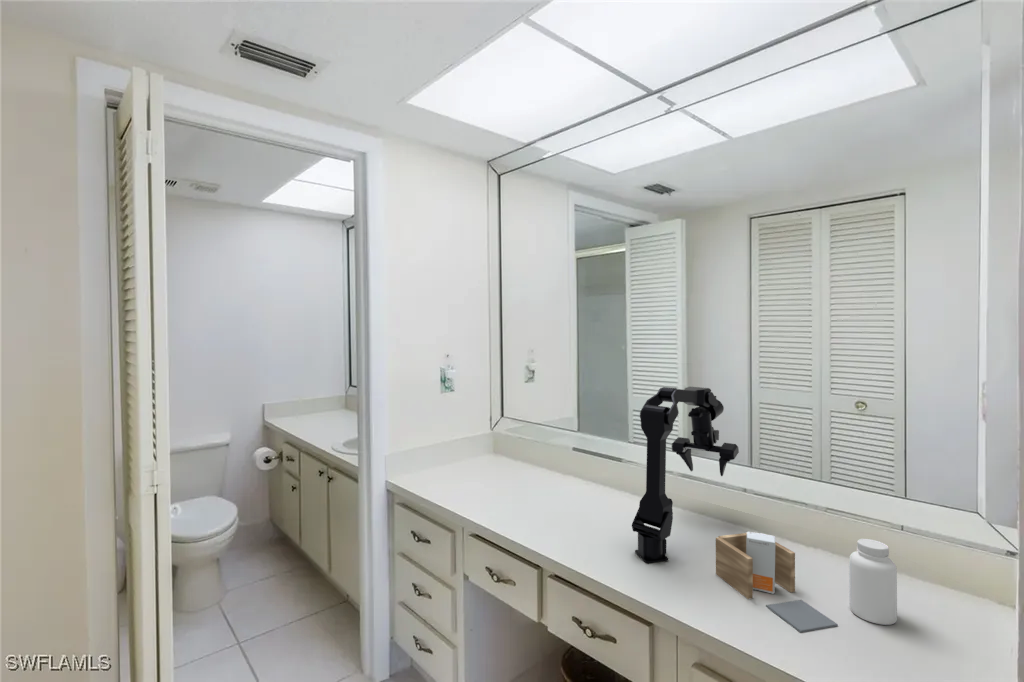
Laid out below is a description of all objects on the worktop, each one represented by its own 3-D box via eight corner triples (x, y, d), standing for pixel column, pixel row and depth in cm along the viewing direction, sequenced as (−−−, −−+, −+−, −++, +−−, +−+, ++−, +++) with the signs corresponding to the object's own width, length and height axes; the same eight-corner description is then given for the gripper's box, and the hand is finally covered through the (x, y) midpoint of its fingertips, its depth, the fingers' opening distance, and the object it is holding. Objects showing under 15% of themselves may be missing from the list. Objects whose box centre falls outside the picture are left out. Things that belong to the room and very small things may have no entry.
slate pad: (800, 632, 93) (800, 630, 93) (766, 606, 102) (766, 605, 102) (837, 626, 95) (837, 624, 95) (801, 601, 104) (801, 599, 104)
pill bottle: (875, 603, 103) (876, 535, 103) (907, 626, 95) (908, 552, 95) (840, 604, 103) (840, 535, 103) (869, 627, 95) (869, 553, 95)
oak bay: (747, 599, 105) (748, 558, 105) (714, 572, 117) (714, 536, 117) (794, 591, 108) (795, 552, 108) (757, 566, 119) (757, 531, 119)
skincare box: (745, 588, 110) (745, 537, 109) (746, 579, 113) (746, 530, 113) (775, 595, 107) (775, 542, 106) (775, 586, 110) (775, 535, 110)
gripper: (741, 419, 145) (745, 466, 148) (681, 414, 158) (686, 458, 160) (731, 433, 137) (735, 483, 140) (668, 427, 149) (673, 472, 152)
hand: (706, 473), depth 148 cm, fingers open, 9 cm apart
